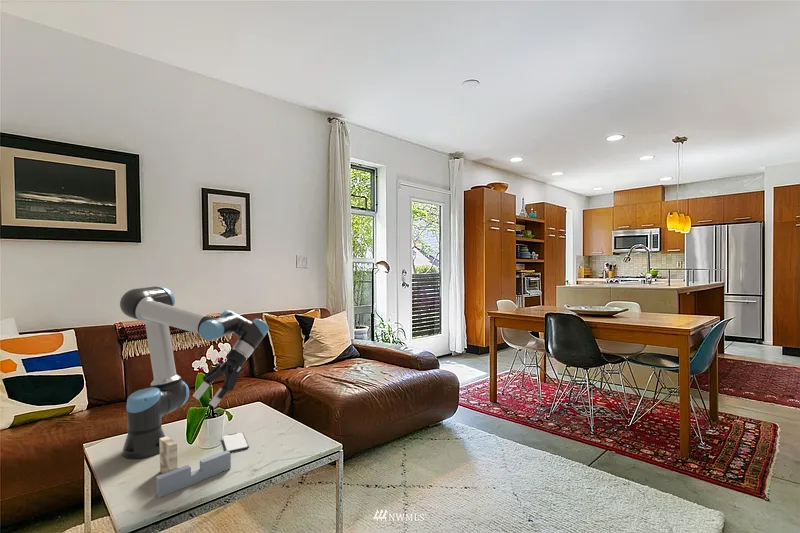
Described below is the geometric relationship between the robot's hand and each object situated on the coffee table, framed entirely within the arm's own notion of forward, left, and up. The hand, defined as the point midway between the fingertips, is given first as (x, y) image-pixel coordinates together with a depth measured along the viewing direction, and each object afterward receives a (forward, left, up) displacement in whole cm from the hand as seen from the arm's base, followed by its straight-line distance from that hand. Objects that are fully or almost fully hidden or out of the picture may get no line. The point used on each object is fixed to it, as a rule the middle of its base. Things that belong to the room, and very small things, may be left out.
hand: (203, 401), depth 159 cm
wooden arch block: (+3, -12, -23) cm, 26 cm away
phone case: (-11, +12, -24) cm, 29 cm away
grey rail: (+13, -4, -23) cm, 27 cm away
